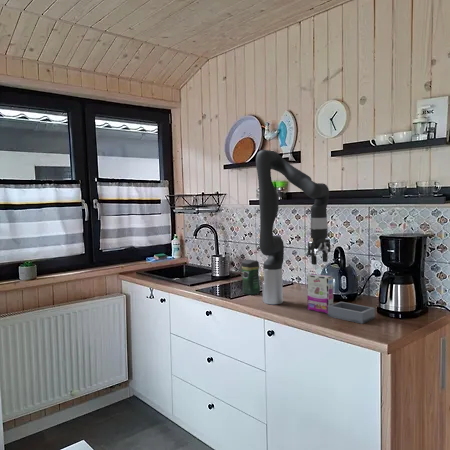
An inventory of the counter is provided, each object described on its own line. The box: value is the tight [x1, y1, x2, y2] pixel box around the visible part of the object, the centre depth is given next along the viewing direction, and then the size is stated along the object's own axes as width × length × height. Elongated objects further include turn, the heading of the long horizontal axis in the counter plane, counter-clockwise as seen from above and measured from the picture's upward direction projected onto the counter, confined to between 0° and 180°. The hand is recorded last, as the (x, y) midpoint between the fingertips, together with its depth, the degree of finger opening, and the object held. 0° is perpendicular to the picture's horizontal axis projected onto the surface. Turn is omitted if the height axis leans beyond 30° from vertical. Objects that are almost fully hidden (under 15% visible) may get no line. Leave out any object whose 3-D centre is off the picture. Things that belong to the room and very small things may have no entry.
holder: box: [327, 301, 376, 325], centre depth 179 cm, size 16×10×4 cm, turn 43°
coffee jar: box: [241, 259, 261, 295], centre depth 228 cm, size 10×8×19 cm
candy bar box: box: [306, 273, 334, 315], centre depth 190 cm, size 11×5×16 cm, turn 45°
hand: (319, 263), depth 189 cm, fingers open, 8 cm apart
